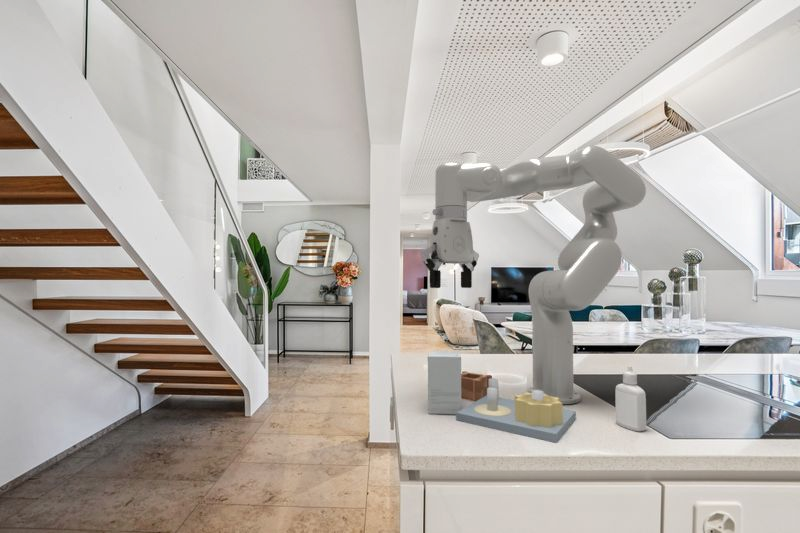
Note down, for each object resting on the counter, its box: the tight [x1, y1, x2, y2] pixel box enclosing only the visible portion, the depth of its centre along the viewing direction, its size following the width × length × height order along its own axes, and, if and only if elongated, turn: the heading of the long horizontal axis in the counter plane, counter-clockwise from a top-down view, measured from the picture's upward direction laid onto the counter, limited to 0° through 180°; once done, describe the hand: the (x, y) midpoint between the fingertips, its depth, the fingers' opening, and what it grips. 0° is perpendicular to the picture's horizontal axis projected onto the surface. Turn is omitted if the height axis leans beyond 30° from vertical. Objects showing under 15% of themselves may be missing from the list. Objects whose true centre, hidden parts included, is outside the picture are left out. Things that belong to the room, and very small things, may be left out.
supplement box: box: [427, 350, 462, 415], centre depth 90 cm, size 7×7×13 cm
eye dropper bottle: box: [614, 365, 647, 432], centre depth 80 cm, size 4×6×12 cm
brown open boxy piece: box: [461, 371, 493, 402], centre depth 101 cm, size 8×8×5 cm
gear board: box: [455, 377, 577, 443], centre depth 84 cm, size 16×20×7 cm
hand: (451, 287), depth 95 cm, fingers open, 9 cm apart
